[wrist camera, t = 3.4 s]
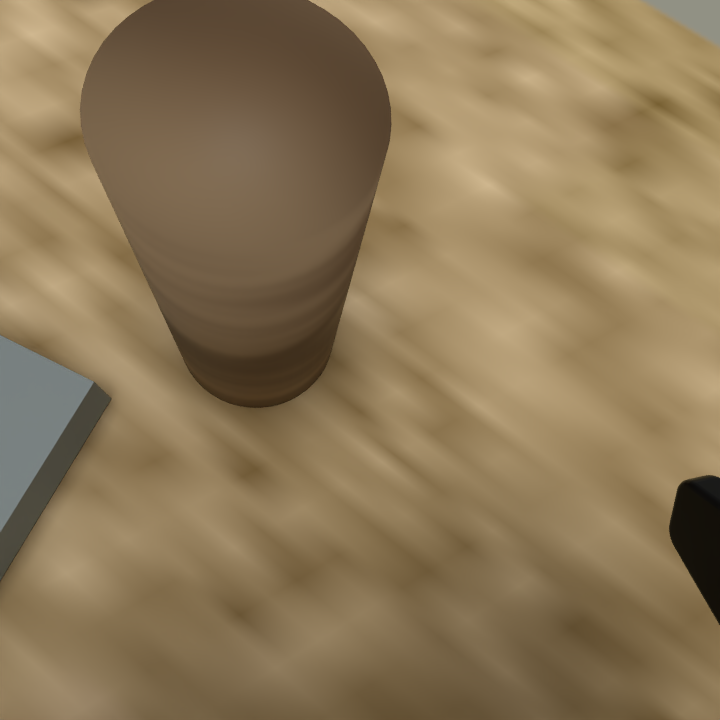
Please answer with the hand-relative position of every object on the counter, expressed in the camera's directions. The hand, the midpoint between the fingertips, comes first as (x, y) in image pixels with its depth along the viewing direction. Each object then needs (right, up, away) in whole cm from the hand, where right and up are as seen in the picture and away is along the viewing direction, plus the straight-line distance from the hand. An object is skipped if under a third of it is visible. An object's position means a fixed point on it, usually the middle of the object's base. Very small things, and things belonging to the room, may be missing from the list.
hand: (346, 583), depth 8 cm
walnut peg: (-3, +4, +14) cm, 15 cm away
